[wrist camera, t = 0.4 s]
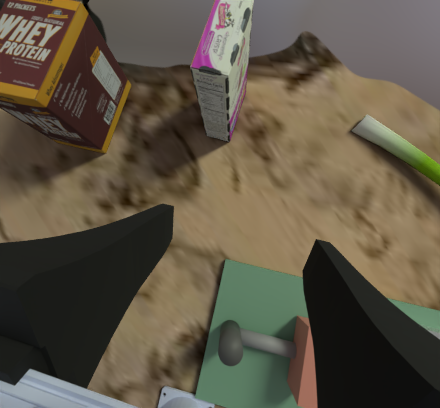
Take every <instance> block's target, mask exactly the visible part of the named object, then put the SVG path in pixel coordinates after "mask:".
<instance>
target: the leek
mask: <svg viewBox="0 0 440 408" xmlns="http://www.w3.org/2000/svg"><path fill="white" fill-rule="evenodd" d="M352 132H354V133H355V134H357V135H359V136H361V137H362V138H364V139H366V140H368V141H370V142H372V143H374V144H376V145H378V146H380V147H382V148H383V149H385V150H386V151H388V152H390V153H391V154H393V155H395V156H396V157H398V158H399V159H401V160H403V161H404V162H406V163H408V164H409V165H411V166H412V167H413V168H415V169H416V170H418V171H419V172H421V173H422V174H424V175H425V176H426V177H428V178H429V179H431V180H432V181H434V182H435V183H436V184H438V185H439V186H440V165H439V164H438V163H436V162H435V161H434V160H432V159H431V158H430V157H428V156H427V155H426V154H424V153H423V152H422V151H420V150H419V149H417V148H416V147H415V146H413V145H412V144H410V143H409V142H407V141H406V140H405V139H403V138H402V137H400V136H399V135H397V134H396V133H394V132H393V131H391V130H390V129H388V128H387V127H385V126H384V125H382V124H381V123H379V122H378V121H376V120H375V119H373V118H372V117H370V116H369V115H366V116H365V117H364V119H363V120H362V121H361V122H360V123H359V124H358V125H357V126H356V127H355V128H354V129H353V130H352Z"/></svg>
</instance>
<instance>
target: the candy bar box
mask: <svg viewBox="0 0 440 408" xmlns="http://www.w3.org/2000/svg"><path fill="white" fill-rule="evenodd" d="M253 2H254V0H215V1H214V4H213V7H212V10H211V12H210V15H209V18H208V20H207V23H206V26H205V29H204V31H203V34H202V37H201V40H200V42H199V45H198V47H197V50H196V53H195V55H194V58H193V61H192V64H191V66H190V68H191V73H192V77H193V81H194V85H195V90H196V94H197V98H198V102H199V106H200V110H201V115H202V119H203V123H204V128H205V132H206V136H209V137H212V138H217V139H220V140H224V141H228V142H230V140H231V137H232V133H233V130H234V127H235V124H236V121H237V118H238V115H239V111H240V108H241V105H242V102H243V99H244V96H245V93H246V81H247V70H248V59H249V46H250V34H251V24H252V11H253Z"/></svg>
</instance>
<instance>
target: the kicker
mask: <svg viewBox="0 0 440 408" xmlns="http://www.w3.org/2000/svg"><path fill="white" fill-rule="evenodd" d="M242 345H245V346H249V347H252V348H256V349H259V350H263V351H267V352H270V353H274V354H278V355H281V356H285V357H289V358H291V359H290V365H289V371H288V378H287V383H288V385H289V387H290V389H291V392H292V394H293V396H294V399H295V401H296V403H297V406H300V407H304V408H317V389H316V372H315V360H314V348H313V341H312V334H311V329H310V324H309V318H306V317H302V316H298V315H297V320H296V326H295V333H294V339H293V342H291V341H287V340H283V339H280V338H276V337H272V336H269V335H265V334H261V333H257V332H254V331H250V330H246V329H242V328H240V327H239V325H238V323H237V322H235V321H233V320H227V321H225V322H224V323H223V324H222V326H221V329H220V338H219V347H218V356H219V358H220V360H221V362H222V363H223V364H225V365H227V366H235V365H237V364H239V363H240V361H241V360H242V358H243V346H242Z"/></svg>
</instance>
